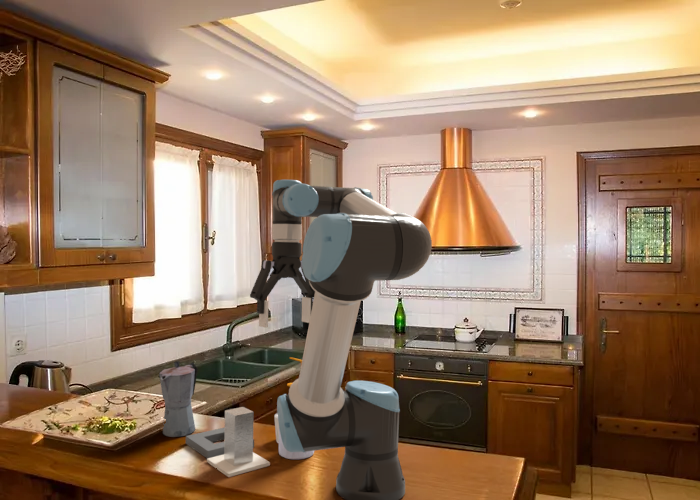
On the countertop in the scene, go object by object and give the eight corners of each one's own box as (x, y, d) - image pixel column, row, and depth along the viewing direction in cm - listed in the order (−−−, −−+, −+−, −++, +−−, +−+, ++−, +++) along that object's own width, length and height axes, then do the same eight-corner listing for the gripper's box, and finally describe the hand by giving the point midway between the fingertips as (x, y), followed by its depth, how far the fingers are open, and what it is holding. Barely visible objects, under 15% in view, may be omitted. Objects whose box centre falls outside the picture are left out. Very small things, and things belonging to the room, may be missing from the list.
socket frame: (254, 447, 147) (254, 439, 147) (207, 459, 139) (208, 450, 138) (230, 433, 157) (230, 426, 157) (185, 443, 148) (185, 436, 148)
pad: (269, 465, 135) (269, 462, 135) (228, 477, 128) (228, 473, 128) (246, 451, 144) (246, 448, 144) (206, 461, 137) (206, 458, 137)
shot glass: (301, 436, 155) (301, 411, 155) (296, 445, 149) (297, 419, 148) (277, 435, 156) (277, 410, 156) (271, 444, 149) (271, 418, 149)
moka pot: (147, 438, 152) (148, 364, 151) (180, 420, 166) (181, 353, 166) (177, 442, 149) (179, 367, 149) (208, 424, 164) (209, 356, 163)
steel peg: (252, 461, 136) (253, 411, 135) (234, 466, 133) (235, 415, 132) (242, 454, 140) (243, 406, 139) (224, 459, 136) (224, 410, 136)
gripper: (314, 241, 155) (313, 318, 155) (236, 240, 137) (235, 327, 138) (333, 242, 149) (331, 321, 150) (254, 240, 132) (252, 330, 132)
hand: (285, 324), depth 144 cm, fingers open, 13 cm apart
